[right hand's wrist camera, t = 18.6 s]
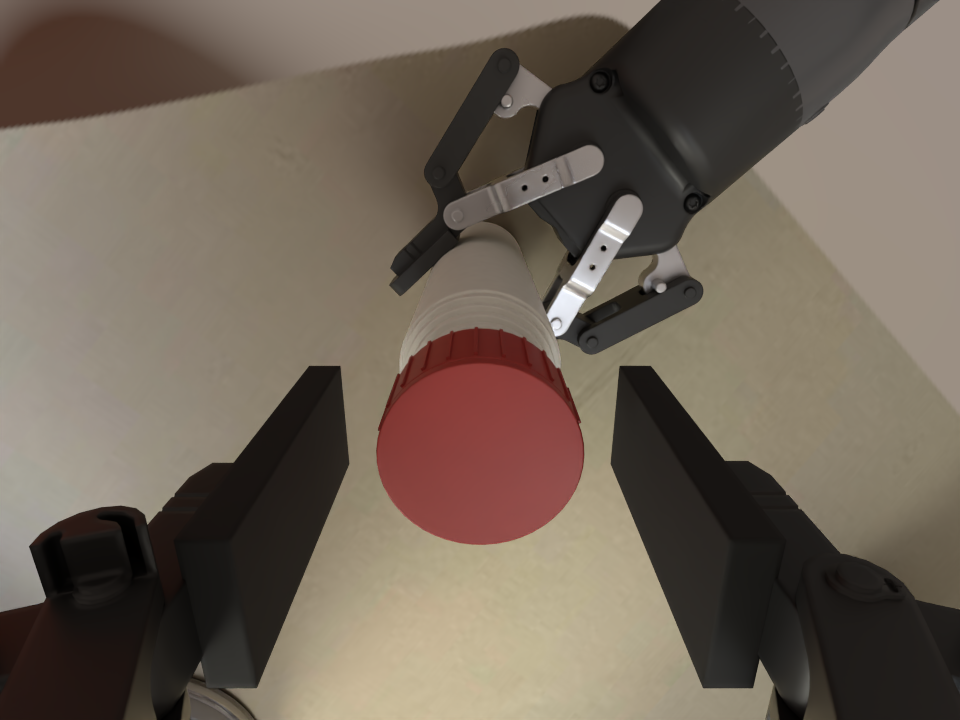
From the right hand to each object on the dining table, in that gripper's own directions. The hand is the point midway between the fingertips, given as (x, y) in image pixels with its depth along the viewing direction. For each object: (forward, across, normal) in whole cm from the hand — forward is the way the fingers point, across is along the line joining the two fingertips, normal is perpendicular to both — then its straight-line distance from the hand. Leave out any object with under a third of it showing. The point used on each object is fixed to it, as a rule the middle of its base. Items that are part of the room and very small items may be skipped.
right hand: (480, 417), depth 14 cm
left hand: (+13, -2, -2) cm, 13 cm away
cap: (-2, 0, 0) cm, 2 cm away
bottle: (+19, 0, 0) cm, 19 cm away
